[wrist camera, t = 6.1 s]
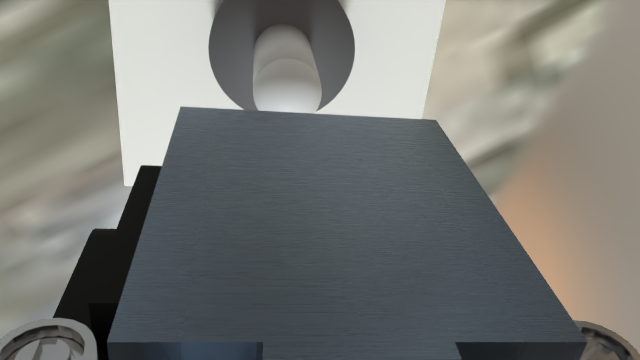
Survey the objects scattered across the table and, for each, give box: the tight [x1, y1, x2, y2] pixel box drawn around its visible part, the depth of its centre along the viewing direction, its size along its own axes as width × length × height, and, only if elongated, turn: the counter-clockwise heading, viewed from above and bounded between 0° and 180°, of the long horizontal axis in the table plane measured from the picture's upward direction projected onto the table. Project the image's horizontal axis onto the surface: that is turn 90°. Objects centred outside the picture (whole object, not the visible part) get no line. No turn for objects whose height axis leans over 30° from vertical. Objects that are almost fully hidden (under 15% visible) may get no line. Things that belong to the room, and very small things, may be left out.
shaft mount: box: [109, 0, 446, 186], centre depth 21 cm, size 16×14×10 cm
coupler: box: [107, 106, 588, 360], centre depth 9 cm, size 5×5×7 cm
